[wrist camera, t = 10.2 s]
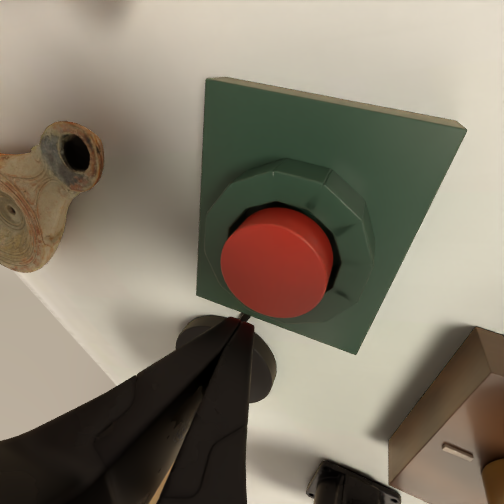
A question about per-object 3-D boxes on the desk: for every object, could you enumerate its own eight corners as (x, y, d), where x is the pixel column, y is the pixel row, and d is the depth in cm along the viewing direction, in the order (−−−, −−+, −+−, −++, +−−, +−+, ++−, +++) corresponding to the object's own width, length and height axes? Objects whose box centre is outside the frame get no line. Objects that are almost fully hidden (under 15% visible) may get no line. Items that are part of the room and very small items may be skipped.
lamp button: (318, 307, 14) (311, 333, 13) (231, 276, 15) (216, 298, 14) (347, 224, 12) (341, 245, 11) (242, 194, 13) (224, 209, 12)
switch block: (358, 331, 19) (352, 385, 16) (210, 278, 21) (178, 316, 18) (457, 120, 12) (483, 140, 9) (225, 76, 14) (178, 79, 11)
